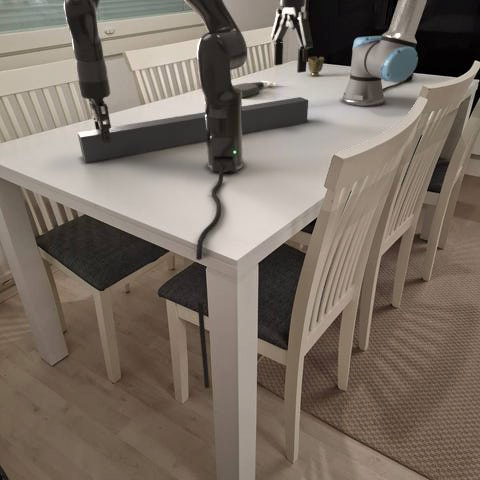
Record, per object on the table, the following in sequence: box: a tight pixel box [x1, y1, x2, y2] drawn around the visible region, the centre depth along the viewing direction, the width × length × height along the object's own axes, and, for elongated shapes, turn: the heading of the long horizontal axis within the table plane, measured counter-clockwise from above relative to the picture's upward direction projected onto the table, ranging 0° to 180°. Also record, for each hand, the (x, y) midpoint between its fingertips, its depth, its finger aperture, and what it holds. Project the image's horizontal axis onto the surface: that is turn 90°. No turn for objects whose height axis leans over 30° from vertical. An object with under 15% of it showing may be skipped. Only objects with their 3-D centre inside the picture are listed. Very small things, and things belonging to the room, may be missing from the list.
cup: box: [307, 56, 325, 77], centre depth 209 cm, size 8×7×8 cm
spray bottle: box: [233, 80, 277, 99], centre depth 187 cm, size 3×11×24 cm
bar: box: [77, 96, 309, 164], centre depth 137 cm, size 74×5×7 cm, turn 117°
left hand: (103, 137), depth 125 cm, fingers open, 8 cm apart
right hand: (289, 68), depth 141 cm, fingers open, 13 cm apart
